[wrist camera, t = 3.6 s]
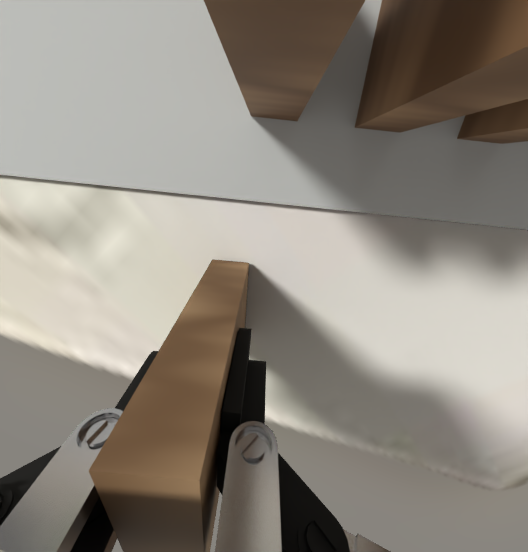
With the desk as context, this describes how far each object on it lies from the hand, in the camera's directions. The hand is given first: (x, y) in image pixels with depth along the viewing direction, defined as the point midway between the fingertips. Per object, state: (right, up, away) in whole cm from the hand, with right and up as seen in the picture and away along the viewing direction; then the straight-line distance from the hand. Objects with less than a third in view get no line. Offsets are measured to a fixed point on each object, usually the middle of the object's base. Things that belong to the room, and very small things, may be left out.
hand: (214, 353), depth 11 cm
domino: (0, +2, +4) cm, 4 cm away
